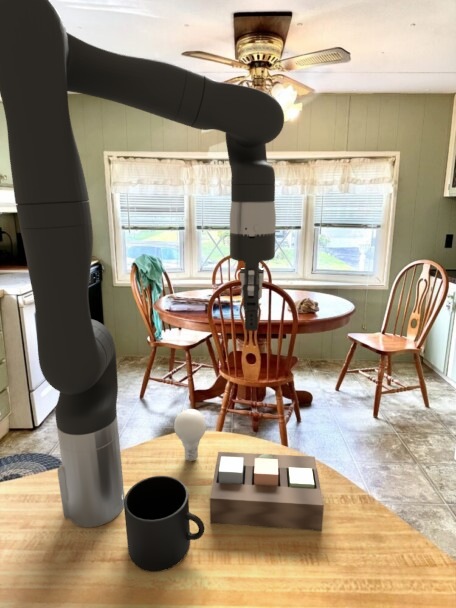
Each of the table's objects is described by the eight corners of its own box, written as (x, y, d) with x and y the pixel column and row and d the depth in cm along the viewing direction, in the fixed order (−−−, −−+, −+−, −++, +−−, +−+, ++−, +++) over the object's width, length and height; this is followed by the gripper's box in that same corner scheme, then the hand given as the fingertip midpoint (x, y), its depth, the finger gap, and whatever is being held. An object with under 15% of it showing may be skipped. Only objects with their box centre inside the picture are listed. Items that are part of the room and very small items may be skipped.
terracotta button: (254, 495, 69) (254, 473, 67) (254, 479, 72) (254, 458, 71) (277, 497, 68) (278, 474, 67) (276, 480, 72) (277, 459, 71)
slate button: (219, 493, 69) (218, 471, 68) (221, 477, 73) (221, 456, 72) (242, 494, 69) (242, 472, 68) (243, 478, 73) (243, 457, 71)
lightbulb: (206, 469, 79) (204, 420, 76) (173, 469, 79) (171, 420, 76) (208, 449, 85) (206, 402, 82) (178, 449, 85) (175, 402, 82)
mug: (195, 583, 56) (193, 530, 54) (116, 566, 59) (111, 515, 56) (213, 529, 65) (212, 482, 62) (144, 516, 68) (140, 471, 65)
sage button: (289, 505, 69) (290, 483, 67) (287, 488, 72) (288, 467, 71) (313, 506, 68) (314, 484, 67) (310, 489, 72) (311, 468, 71)
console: (210, 523, 66) (209, 496, 65) (218, 474, 78) (218, 450, 76) (321, 530, 65) (323, 503, 63) (313, 479, 76) (314, 455, 75)
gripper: (232, 226, 73) (233, 317, 78) (226, 234, 60) (226, 342, 65) (274, 226, 72) (272, 318, 77) (276, 234, 60) (273, 343, 64)
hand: (251, 329), depth 71 cm, fingers closed
